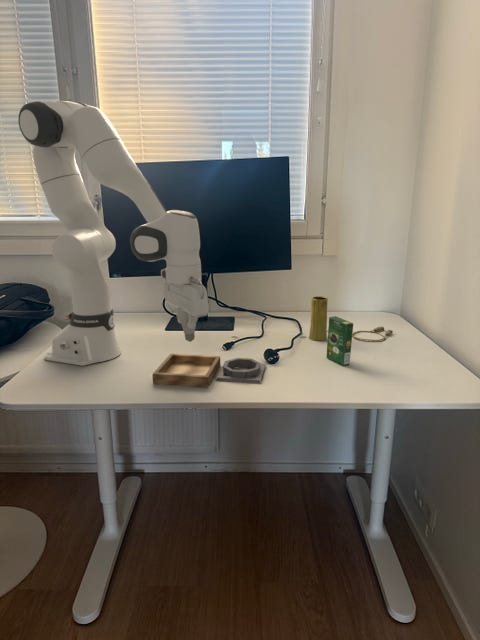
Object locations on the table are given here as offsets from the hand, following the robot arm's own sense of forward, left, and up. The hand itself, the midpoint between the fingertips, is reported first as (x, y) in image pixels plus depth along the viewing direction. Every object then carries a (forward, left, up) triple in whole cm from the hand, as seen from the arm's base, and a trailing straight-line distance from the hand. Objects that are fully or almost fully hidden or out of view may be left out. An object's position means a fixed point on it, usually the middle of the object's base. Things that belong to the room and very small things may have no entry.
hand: (186, 325), depth 118 cm
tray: (0, 0, -14) cm, 14 cm away
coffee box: (+41, +16, -15) cm, 47 cm away
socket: (+14, +3, -14) cm, 21 cm away
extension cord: (+55, +43, -15) cm, 71 cm away
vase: (+35, +37, -15) cm, 54 cm away
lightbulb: (+1, 0, -5) cm, 5 cm away
